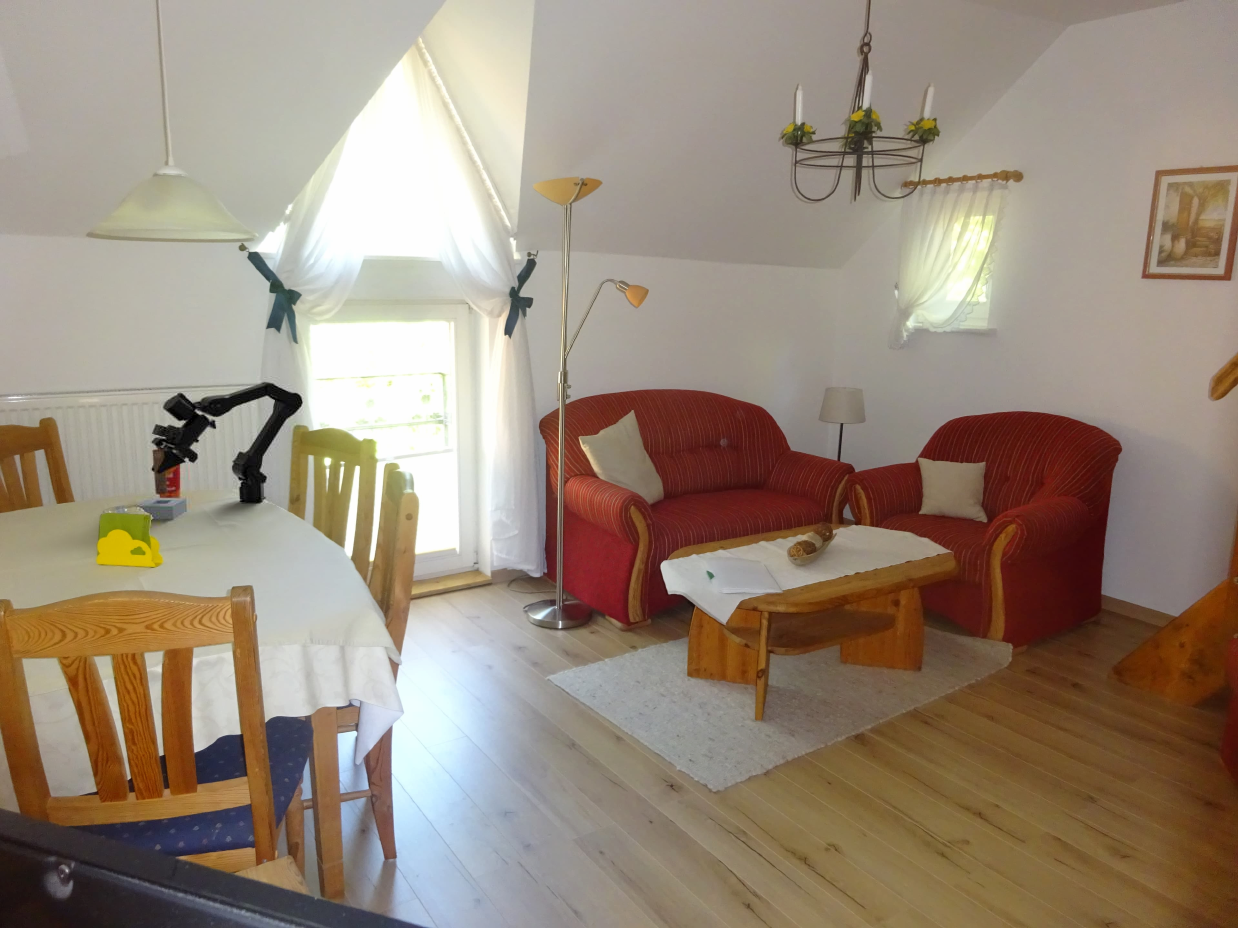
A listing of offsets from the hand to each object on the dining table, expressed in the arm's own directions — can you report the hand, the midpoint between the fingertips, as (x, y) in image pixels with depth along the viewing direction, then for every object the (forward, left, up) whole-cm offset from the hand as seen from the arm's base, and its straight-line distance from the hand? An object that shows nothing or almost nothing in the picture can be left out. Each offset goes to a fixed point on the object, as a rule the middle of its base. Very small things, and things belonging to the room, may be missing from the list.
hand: (155, 472), depth 248 cm
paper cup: (+4, -19, -14) cm, 24 cm away
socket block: (-1, -1, -13) cm, 14 cm away
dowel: (-1, -1, -7) cm, 7 cm away
